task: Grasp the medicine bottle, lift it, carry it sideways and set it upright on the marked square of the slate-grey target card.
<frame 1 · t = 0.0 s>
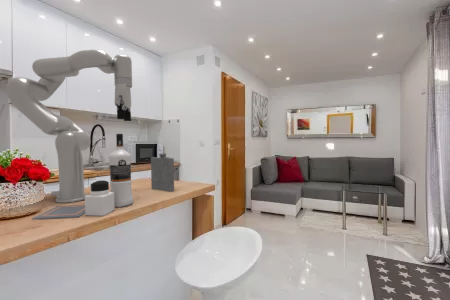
hand: (124, 120, 108), 37 cm above the countertop, tool pointing down, fingers open, 9 cm apart
hip flask: (163, 190, 126), on the countertop
vodka: (121, 204, 97), on the countertop
target card: (67, 211, 87), on the countertop
medicine bottle: (100, 213, 86), on the countertop
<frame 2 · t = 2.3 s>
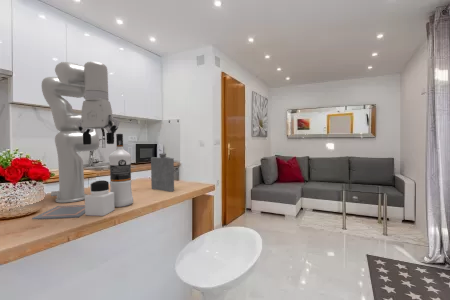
hand: (98, 144, 85), 26 cm above the countertop, tool pointing down, fingers open, 9 cm apart
nothing on the countertop moved.
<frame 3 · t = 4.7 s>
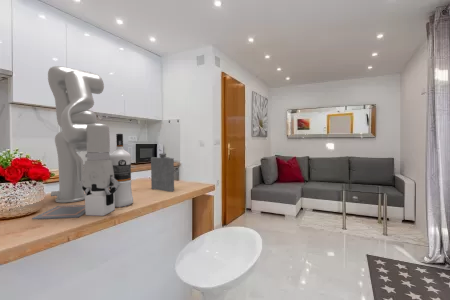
hand: (100, 203, 86), 3 cm above the countertop, tool pointing down, fingers closed on medicine bottle, 7 cm apart
medicine bottle: (100, 213, 86), on the countertop, touching gripper
everything else where it was.
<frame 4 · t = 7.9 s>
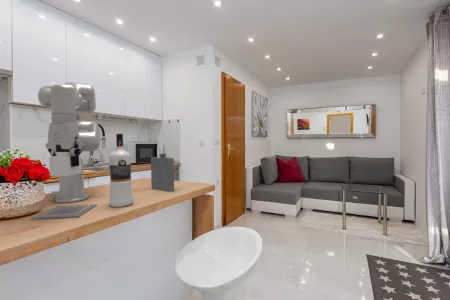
hand: (65, 165, 87), 18 cm above the countertop, tool pointing down, fingers closed on medicine bottle, 7 cm apart
medicine bottle: (66, 175, 87), point 14 cm above the countertop, touching gripper
everything else where it was.
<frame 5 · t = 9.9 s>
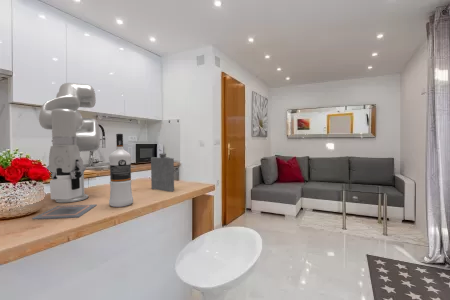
hand: (66, 188, 87), 9 cm above the countertop, tool pointing down, fingers closed on medicine bottle, 7 cm apart
medicine bottle: (66, 197, 87), point 5 cm above the countertop, touching gripper
everything else where it was.
when the fingers open (5 cm above the countertop, at t = 11.5 s): medicine bottle drops 1 cm, resting on target card.
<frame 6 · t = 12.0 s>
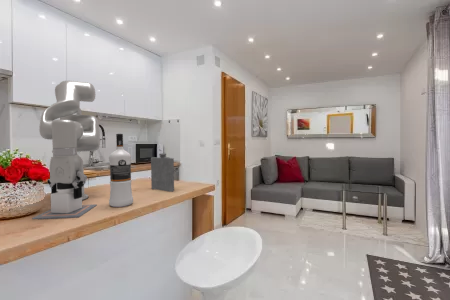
hand: (66, 197, 87), 6 cm above the countertop, tool pointing down, fingers open, 9 cm apart
medicine bottle: (67, 211, 88), resting on target card
everything else where it was.
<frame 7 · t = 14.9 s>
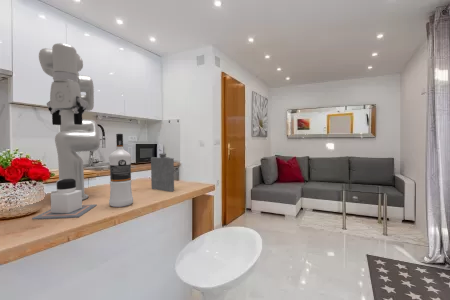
hand: (67, 124, 87), 33 cm above the countertop, tool pointing down, fingers open, 9 cm apart
nothing on the countertop moved.
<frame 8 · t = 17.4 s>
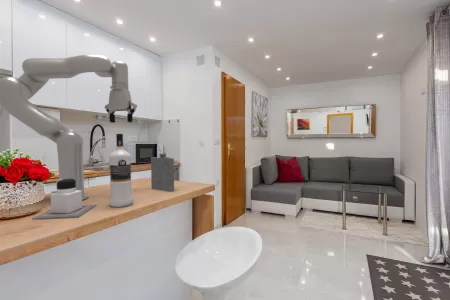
hand: (121, 122, 115), 36 cm above the countertop, tool pointing down, fingers open, 9 cm apart
nothing on the countertop moved.
at the end: medicine bottle 0.3 cm off-centre on the target card, point 0.3 cm above the target card's base; medicine bottle tilted 0°; the gripper is holding nothing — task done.
